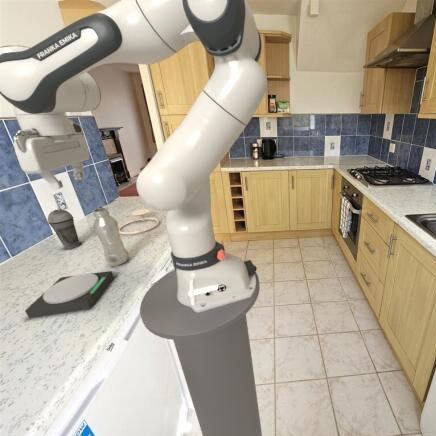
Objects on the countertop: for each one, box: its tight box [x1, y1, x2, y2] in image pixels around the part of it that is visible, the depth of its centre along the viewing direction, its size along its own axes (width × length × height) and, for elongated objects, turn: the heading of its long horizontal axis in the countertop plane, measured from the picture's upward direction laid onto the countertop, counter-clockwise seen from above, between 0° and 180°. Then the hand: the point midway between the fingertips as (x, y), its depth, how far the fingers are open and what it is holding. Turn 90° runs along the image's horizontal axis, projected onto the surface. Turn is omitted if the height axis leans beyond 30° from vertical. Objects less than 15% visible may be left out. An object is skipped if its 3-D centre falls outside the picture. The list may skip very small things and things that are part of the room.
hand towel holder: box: [118, 208, 160, 236], centre depth 113 cm, size 17×4×21 cm
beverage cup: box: [47, 197, 81, 250], centre depth 93 cm, size 7×7×20 cm
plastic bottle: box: [92, 207, 129, 267], centre depth 81 cm, size 6×7×20 cm
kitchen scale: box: [24, 270, 115, 319], centre depth 69 cm, size 14×14×3 cm
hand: (69, 183), depth 64 cm, fingers open, 8 cm apart
